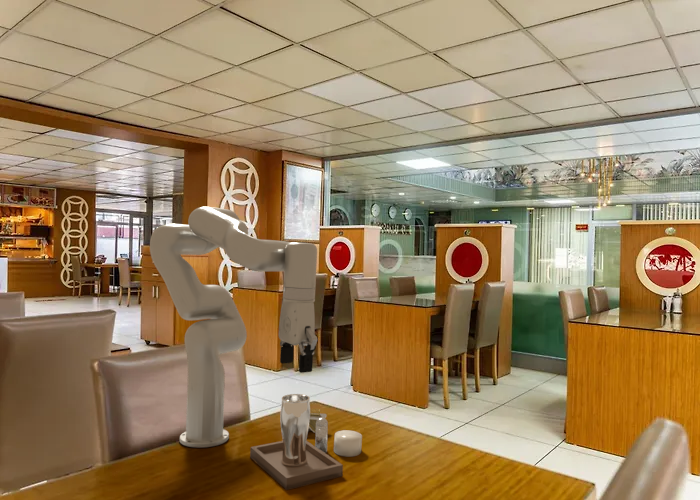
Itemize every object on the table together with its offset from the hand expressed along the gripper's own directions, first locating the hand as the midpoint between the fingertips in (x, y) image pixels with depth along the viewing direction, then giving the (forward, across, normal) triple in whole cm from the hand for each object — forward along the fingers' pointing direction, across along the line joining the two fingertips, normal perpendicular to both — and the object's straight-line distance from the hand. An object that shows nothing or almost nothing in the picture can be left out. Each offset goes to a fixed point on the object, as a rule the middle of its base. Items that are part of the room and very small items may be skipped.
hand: (295, 367), depth 121 cm
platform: (+24, -19, +14) cm, 34 cm away
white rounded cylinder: (+23, -1, +16) cm, 28 cm away
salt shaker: (+23, -4, +10) cm, 26 cm away
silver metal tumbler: (+22, +1, 0) cm, 22 cm away
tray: (+23, +1, 0) cm, 23 cm away
